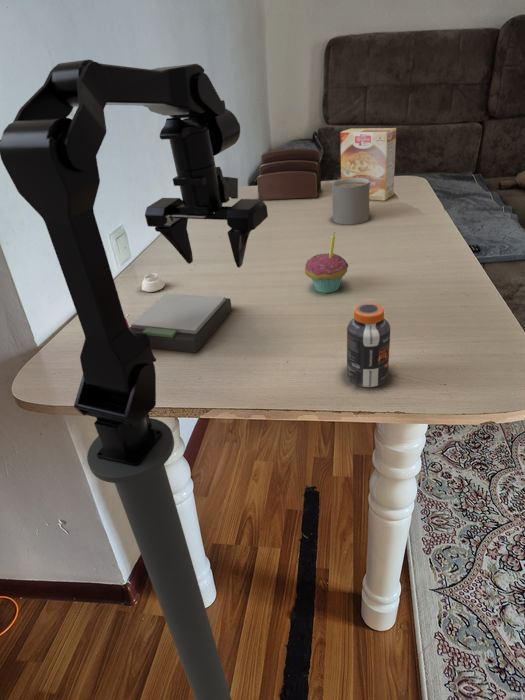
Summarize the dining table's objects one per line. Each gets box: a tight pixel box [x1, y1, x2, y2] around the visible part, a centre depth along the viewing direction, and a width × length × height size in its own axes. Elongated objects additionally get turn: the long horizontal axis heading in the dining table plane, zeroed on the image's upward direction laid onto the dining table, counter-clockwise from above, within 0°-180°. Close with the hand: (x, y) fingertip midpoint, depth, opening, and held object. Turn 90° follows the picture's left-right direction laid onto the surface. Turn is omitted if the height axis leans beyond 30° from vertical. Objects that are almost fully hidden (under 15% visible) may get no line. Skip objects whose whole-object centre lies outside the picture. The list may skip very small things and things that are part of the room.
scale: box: [129, 292, 233, 354], centre depth 90 cm, size 16×14×3 cm
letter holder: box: [256, 147, 322, 201], centre depth 159 cm, size 10×20×14 cm, turn 77°
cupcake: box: [304, 231, 349, 294], centre depth 95 cm, size 9×8×12 cm
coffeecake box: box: [340, 127, 397, 202], centre depth 147 cm, size 15×7×20 cm, turn 55°
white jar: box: [141, 273, 166, 293], centre depth 106 cm, size 5×3×5 cm
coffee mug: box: [331, 178, 370, 225], centre depth 134 cm, size 13×10×10 cm
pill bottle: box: [346, 302, 391, 388], centre depth 68 cm, size 6×6×11 cm
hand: (214, 264), depth 78 cm, fingers open, 9 cm apart
